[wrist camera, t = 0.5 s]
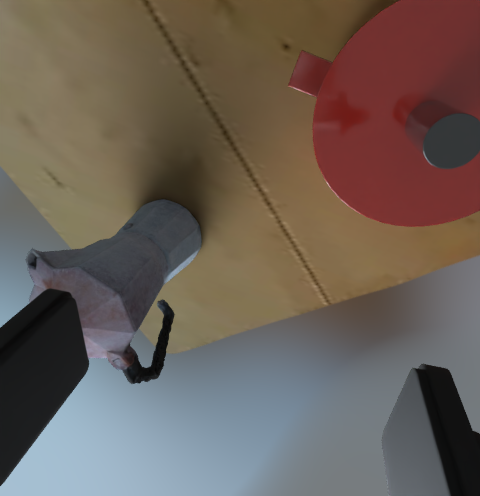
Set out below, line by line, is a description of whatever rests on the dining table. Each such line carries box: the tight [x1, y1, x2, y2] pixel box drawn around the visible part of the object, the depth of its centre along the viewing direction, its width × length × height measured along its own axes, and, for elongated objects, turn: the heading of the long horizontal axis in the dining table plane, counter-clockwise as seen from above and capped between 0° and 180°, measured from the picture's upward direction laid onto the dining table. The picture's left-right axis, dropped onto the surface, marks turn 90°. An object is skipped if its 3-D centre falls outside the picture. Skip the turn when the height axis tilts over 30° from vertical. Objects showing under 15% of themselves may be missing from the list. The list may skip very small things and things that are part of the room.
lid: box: [313, 0, 480, 227], centre depth 22 cm, size 15×15×7 cm
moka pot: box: [26, 199, 202, 384], centre depth 35 cm, size 10×15×20 cm, turn 40°
